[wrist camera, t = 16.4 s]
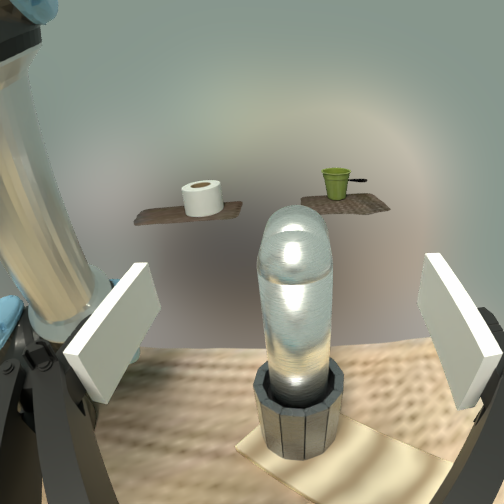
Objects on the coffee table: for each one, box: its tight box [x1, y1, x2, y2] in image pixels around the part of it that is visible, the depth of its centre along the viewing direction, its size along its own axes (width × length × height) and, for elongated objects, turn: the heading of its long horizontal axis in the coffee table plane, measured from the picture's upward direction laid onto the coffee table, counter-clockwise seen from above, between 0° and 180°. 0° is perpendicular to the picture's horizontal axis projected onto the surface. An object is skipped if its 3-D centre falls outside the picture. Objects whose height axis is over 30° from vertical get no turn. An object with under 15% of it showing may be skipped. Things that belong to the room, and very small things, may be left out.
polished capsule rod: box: [257, 205, 333, 409], centre depth 32 cm, size 9×6×21 cm
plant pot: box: [321, 168, 351, 200], centre depth 124 cm, size 12×12×11 cm
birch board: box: [235, 413, 454, 504], centre depth 32 cm, size 30×13×2 cm, turn 47°
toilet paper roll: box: [182, 180, 224, 217], centre depth 128 cm, size 16×15×11 cm
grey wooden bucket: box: [253, 357, 344, 461], centre depth 37 cm, size 10×10×11 cm
